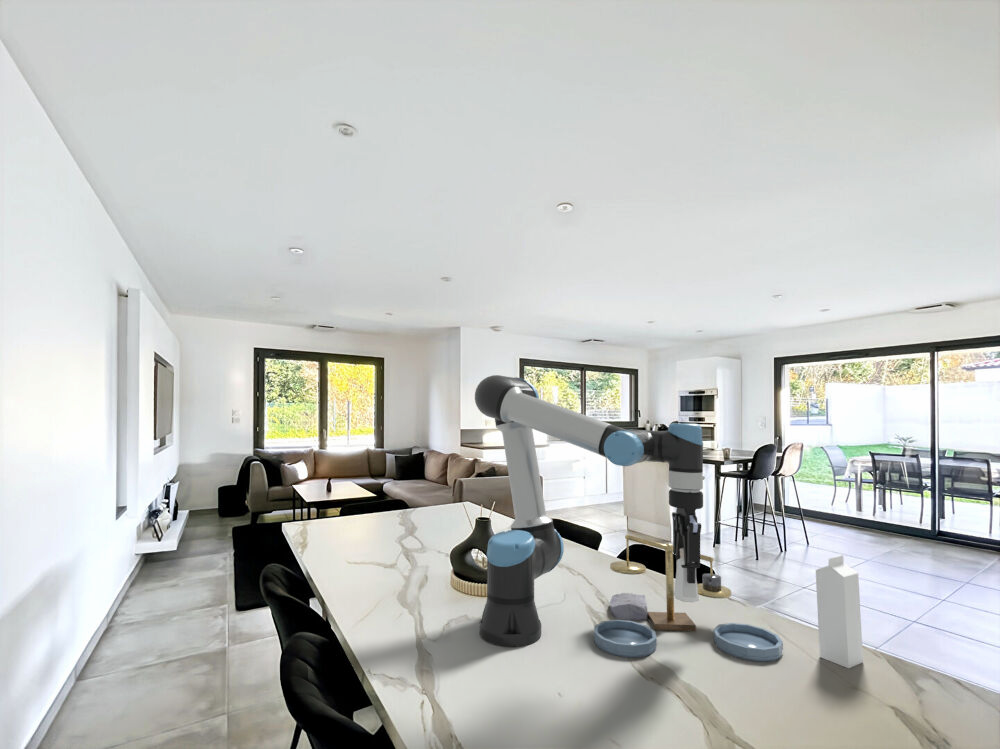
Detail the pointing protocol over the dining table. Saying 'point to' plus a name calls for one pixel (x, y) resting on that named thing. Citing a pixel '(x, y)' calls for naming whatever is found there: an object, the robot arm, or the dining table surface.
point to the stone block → (629, 606)
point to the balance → (672, 588)
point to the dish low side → (748, 642)
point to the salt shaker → (679, 581)
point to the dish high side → (625, 638)
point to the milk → (839, 613)
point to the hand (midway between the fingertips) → (686, 592)
